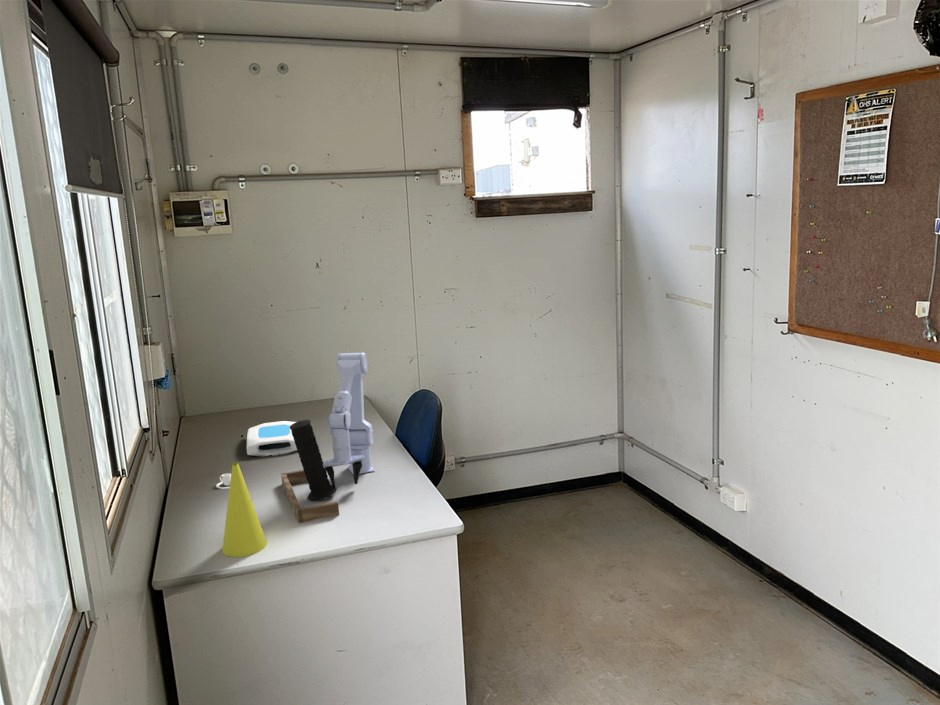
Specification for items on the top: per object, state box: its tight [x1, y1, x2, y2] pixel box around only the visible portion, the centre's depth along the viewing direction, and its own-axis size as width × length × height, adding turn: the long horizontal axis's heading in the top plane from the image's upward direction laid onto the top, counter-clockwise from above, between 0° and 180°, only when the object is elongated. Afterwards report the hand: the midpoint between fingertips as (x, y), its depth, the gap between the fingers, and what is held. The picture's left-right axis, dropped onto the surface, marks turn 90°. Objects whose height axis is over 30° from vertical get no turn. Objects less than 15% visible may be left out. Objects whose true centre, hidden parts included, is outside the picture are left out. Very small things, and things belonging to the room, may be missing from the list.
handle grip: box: [290, 419, 337, 502], centre depth 236 cm, size 10×26×10 cm
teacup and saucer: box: [215, 472, 231, 490], centre depth 254 cm, size 9×8×4 cm
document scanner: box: [246, 420, 297, 457], centre depth 297 cm, size 21×28×6 cm
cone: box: [221, 461, 268, 558], centre depth 203 cm, size 12×12×25 cm
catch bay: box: [280, 469, 340, 524], centre depth 238 cm, size 36×13×4 cm, turn 22°
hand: (344, 485), depth 242 cm, fingers open, 7 cm apart
